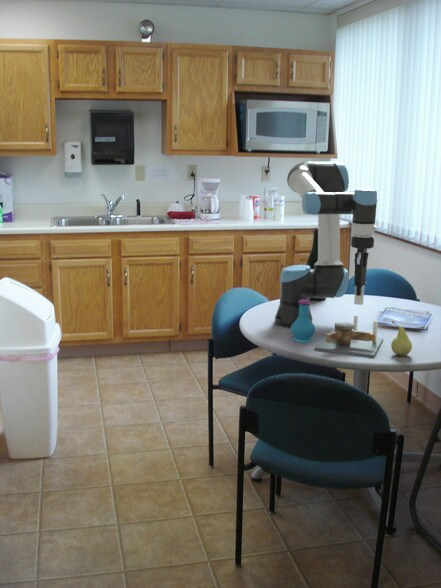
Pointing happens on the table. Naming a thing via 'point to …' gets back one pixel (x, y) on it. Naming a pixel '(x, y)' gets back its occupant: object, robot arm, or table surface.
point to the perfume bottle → (303, 324)
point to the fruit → (401, 343)
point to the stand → (353, 344)
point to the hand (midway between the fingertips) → (358, 303)
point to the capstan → (347, 334)
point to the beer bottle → (314, 255)
